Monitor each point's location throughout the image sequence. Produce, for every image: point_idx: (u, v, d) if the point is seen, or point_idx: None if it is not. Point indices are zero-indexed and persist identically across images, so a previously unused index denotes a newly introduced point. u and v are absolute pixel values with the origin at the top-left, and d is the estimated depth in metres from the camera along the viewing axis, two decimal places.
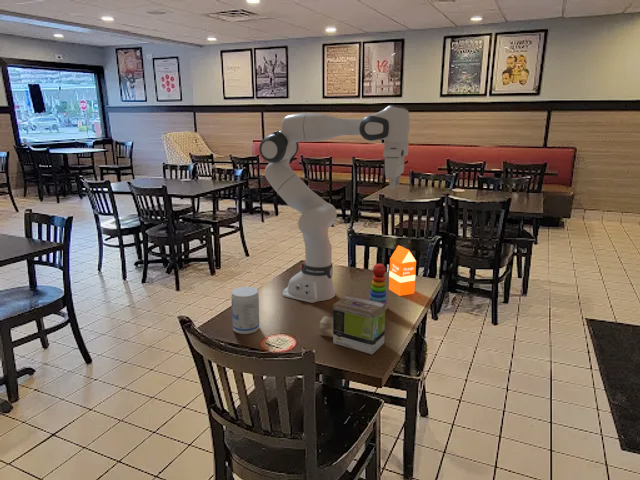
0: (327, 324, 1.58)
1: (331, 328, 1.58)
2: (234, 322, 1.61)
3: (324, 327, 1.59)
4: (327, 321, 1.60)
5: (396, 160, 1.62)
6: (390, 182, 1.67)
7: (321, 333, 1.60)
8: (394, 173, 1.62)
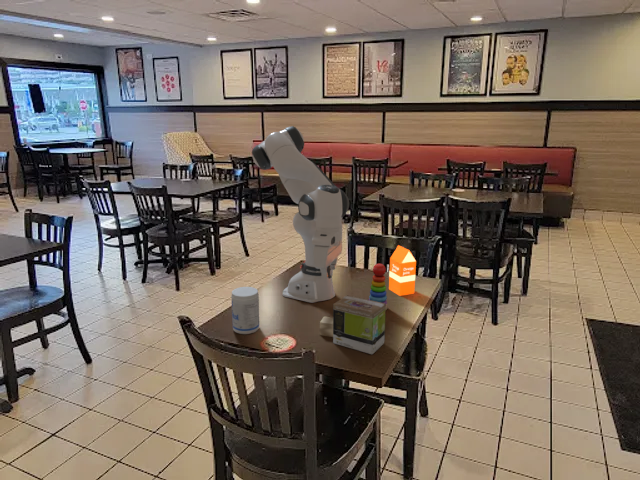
0: (327, 324, 1.58)
1: (331, 328, 1.58)
2: (234, 322, 1.61)
3: (324, 327, 1.59)
4: (327, 321, 1.60)
5: (325, 250, 1.44)
6: (321, 271, 1.50)
7: (321, 333, 1.60)
8: (323, 264, 1.45)
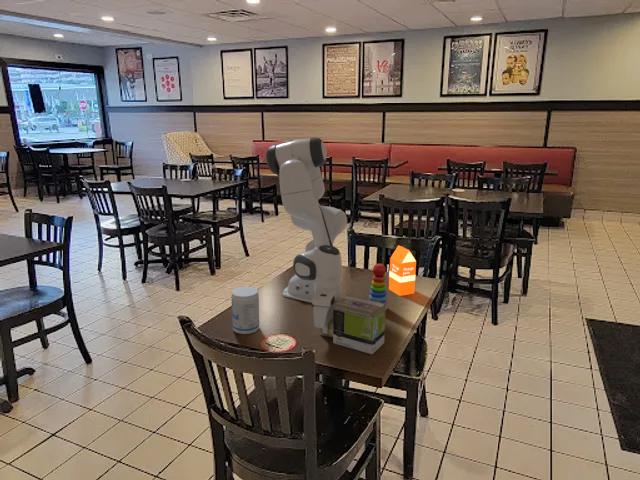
0: None
1: (331, 328, 1.58)
2: (234, 322, 1.61)
3: None
4: None
5: (325, 310, 1.50)
6: None
7: (321, 333, 1.60)
8: (323, 324, 1.50)
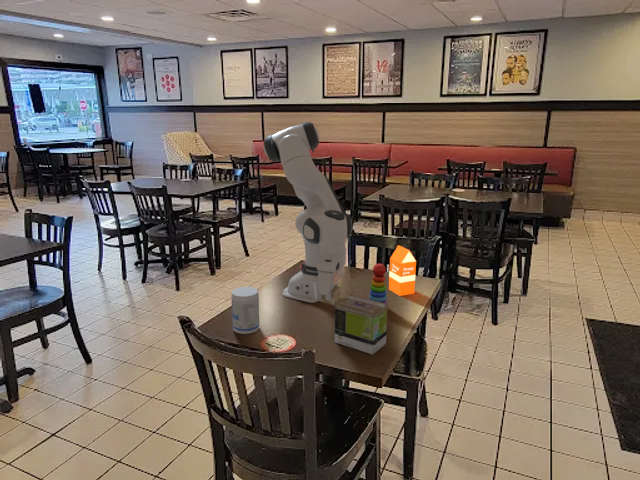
0: None
1: (332, 296, 1.56)
2: (234, 322, 1.61)
3: (325, 295, 1.57)
4: None
5: (330, 276, 1.47)
6: (326, 293, 1.54)
7: (322, 300, 1.58)
8: (328, 289, 1.47)
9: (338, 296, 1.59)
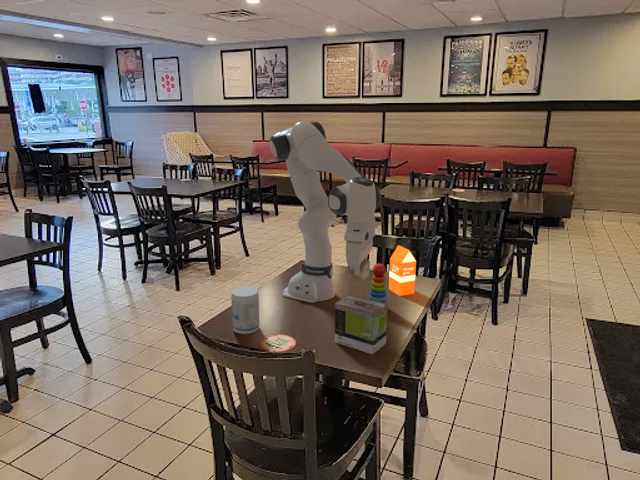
0: None
1: (361, 271, 1.45)
2: (234, 322, 1.61)
3: None
4: None
5: (359, 246, 1.36)
6: (354, 267, 1.43)
7: (351, 275, 1.47)
8: (357, 261, 1.36)
9: (367, 271, 1.47)
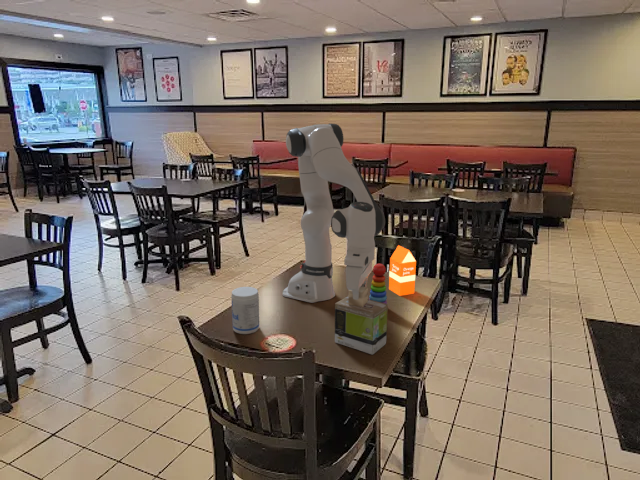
0: None
1: (360, 297, 1.47)
2: (234, 322, 1.61)
3: None
4: None
5: (359, 270, 1.38)
6: (353, 291, 1.44)
7: (350, 302, 1.49)
8: (356, 285, 1.38)
9: (366, 297, 1.50)
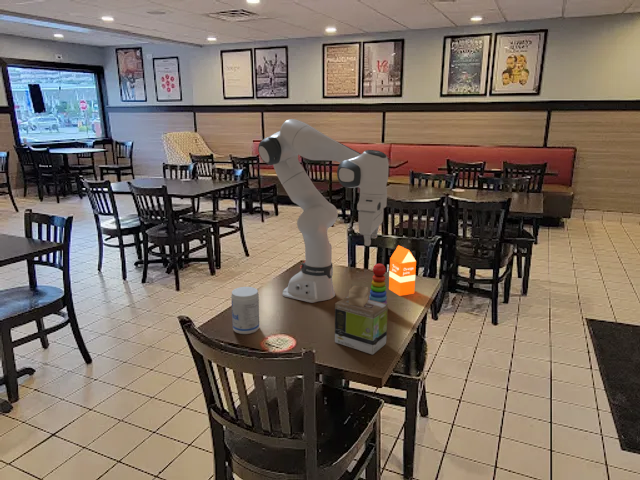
0: (357, 293, 1.47)
1: (361, 297, 1.47)
2: (234, 322, 1.61)
3: (353, 296, 1.48)
4: (357, 289, 1.49)
5: (371, 215, 1.41)
6: (365, 237, 1.47)
7: (350, 302, 1.49)
8: (369, 230, 1.42)
9: (366, 297, 1.50)
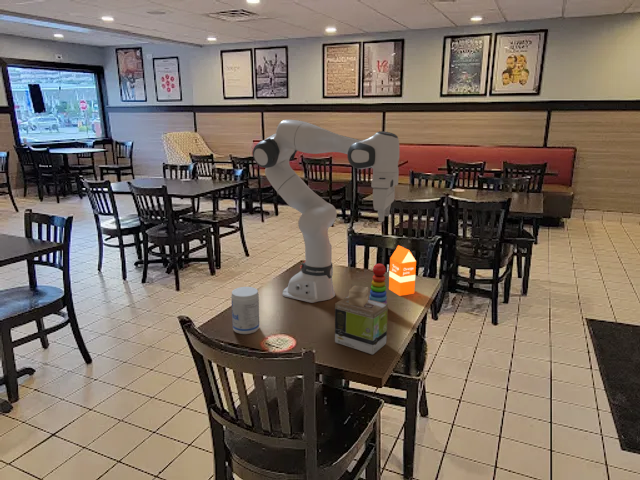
0: (357, 293, 1.47)
1: (360, 297, 1.47)
2: (234, 322, 1.61)
3: (353, 296, 1.48)
4: (357, 289, 1.49)
5: (385, 191, 1.50)
6: (379, 214, 1.56)
7: (350, 302, 1.49)
8: (383, 205, 1.51)
9: (366, 297, 1.50)
